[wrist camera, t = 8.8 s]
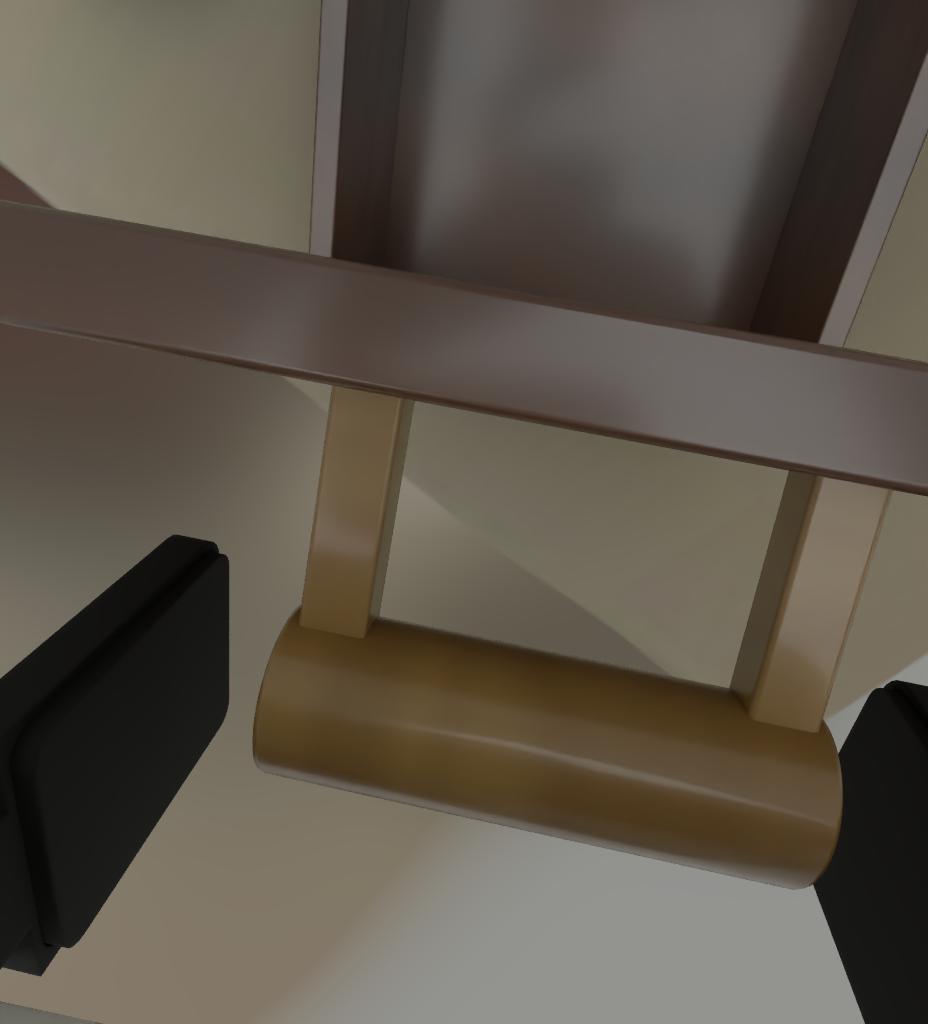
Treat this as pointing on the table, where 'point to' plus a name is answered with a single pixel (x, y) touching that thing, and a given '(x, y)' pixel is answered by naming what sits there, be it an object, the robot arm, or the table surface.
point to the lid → (499, 665)
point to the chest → (625, 149)
